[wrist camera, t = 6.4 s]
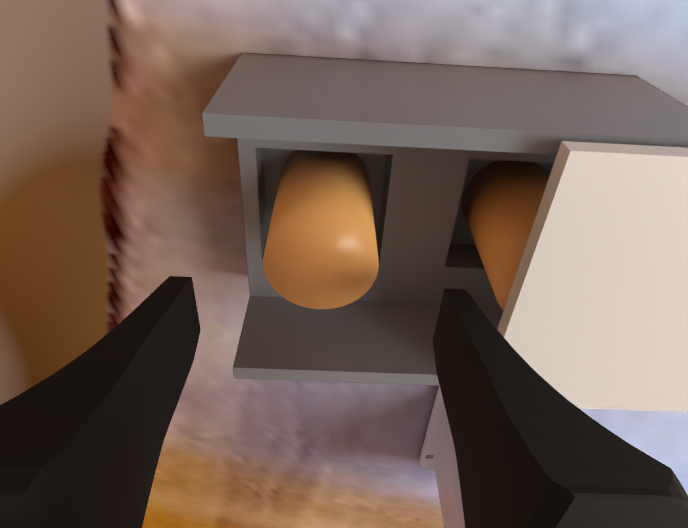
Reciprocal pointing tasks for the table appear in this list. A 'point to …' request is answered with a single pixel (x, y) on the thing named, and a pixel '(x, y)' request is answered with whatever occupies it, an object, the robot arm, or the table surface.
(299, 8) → the table surface
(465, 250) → the housing
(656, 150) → the lid
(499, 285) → the jaw peg seated
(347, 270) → the jaw peg
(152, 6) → the table surface
